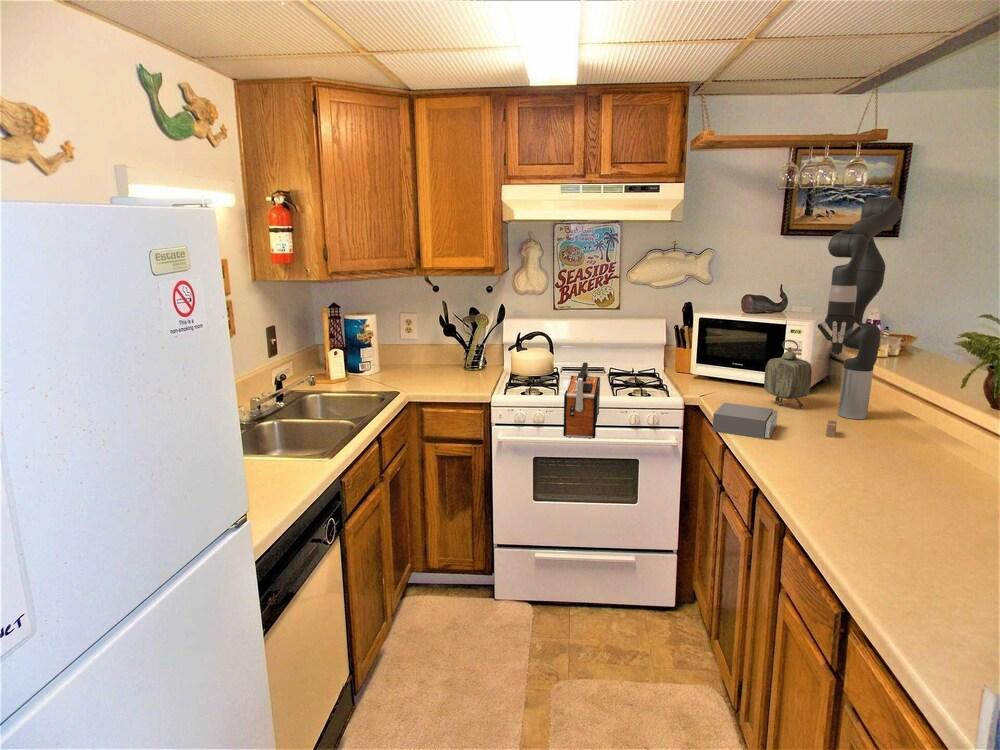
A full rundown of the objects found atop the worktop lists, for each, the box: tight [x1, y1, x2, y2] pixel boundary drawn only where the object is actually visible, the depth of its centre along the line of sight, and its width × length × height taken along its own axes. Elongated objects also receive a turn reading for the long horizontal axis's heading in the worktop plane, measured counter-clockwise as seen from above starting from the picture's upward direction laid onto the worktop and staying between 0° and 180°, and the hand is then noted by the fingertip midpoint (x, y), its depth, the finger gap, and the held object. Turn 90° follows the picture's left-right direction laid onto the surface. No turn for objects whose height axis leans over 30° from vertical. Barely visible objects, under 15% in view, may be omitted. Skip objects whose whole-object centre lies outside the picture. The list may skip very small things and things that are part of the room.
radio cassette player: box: [562, 361, 601, 440], centre depth 215 cm, size 29×10×20 cm, turn 169°
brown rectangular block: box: [825, 419, 838, 438], centre depth 209 cm, size 6×2×4 cm, turn 149°
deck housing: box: [711, 402, 774, 440], centre depth 215 cm, size 16×16×6 cm
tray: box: [764, 409, 779, 439], centre depth 214 cm, size 16×16×5 cm
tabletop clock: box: [763, 339, 813, 409], centre depth 241 cm, size 14×9×25 cm, turn 26°
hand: (836, 354), depth 205 cm, fingers closed
